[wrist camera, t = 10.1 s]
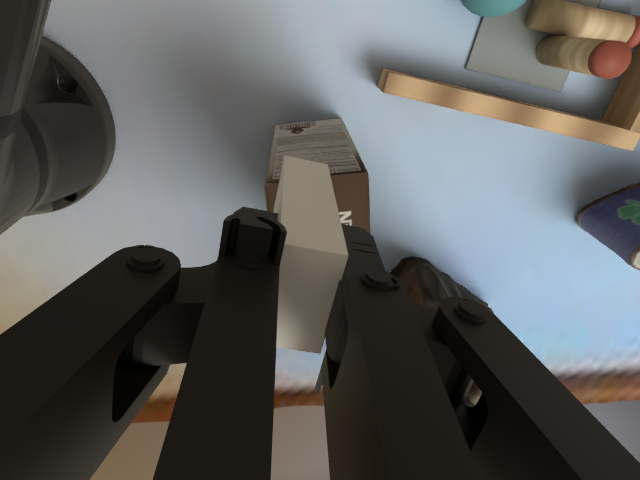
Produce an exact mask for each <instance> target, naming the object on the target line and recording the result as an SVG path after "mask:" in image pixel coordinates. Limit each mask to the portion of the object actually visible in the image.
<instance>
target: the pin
mask: <svg viewBox="0 0 640 480" xmlns="http://www.w3.org/2000/svg"><path fill="white" fill-rule="evenodd" d="M536 58H537V60H538V61H539V62H540V63H541V64H543V65H548V66H552V67H557V68H561V69H566V70H570V71H575V72H579V73H584V74H588V75H593V76H597V77H602V78H606V79H612V78H615V77H618V76H619V75H621V74H622V73H623V72H624V71H625V70H626V69H627V68H628V66H629V64H630V62H631V58H632V52H631V48H630V46H629V45H628V44H627V43H625V42H623V41H615V40H604V39H594V38H584V37H574V36H564V35H548V36H546V37H544V38H543V39H542V40H541V41H540V42H539V44H538V45H537V48H536Z"/></svg>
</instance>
